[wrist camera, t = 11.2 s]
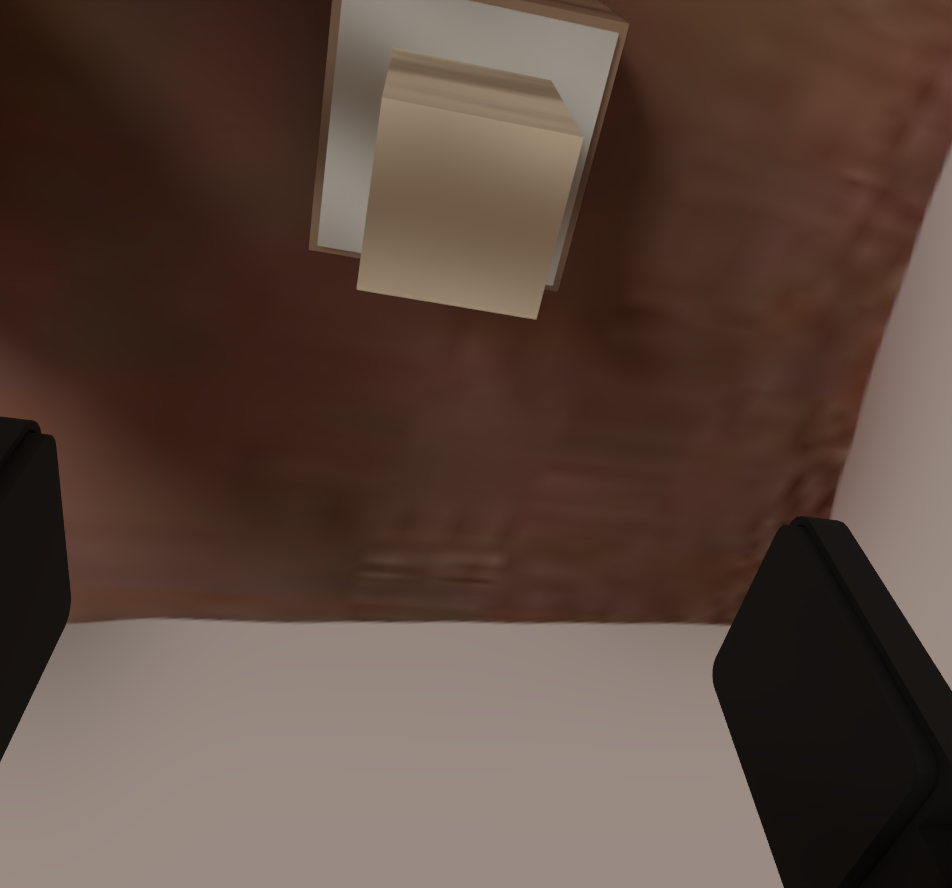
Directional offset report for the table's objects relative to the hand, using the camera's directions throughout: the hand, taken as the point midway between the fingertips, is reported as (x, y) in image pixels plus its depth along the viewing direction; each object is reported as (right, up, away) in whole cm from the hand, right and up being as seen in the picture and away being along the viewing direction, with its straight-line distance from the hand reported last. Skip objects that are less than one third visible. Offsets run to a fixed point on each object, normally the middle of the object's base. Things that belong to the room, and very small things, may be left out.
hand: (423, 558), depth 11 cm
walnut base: (0, +15, +22) cm, 26 cm away
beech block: (0, +11, +17) cm, 20 cm away
